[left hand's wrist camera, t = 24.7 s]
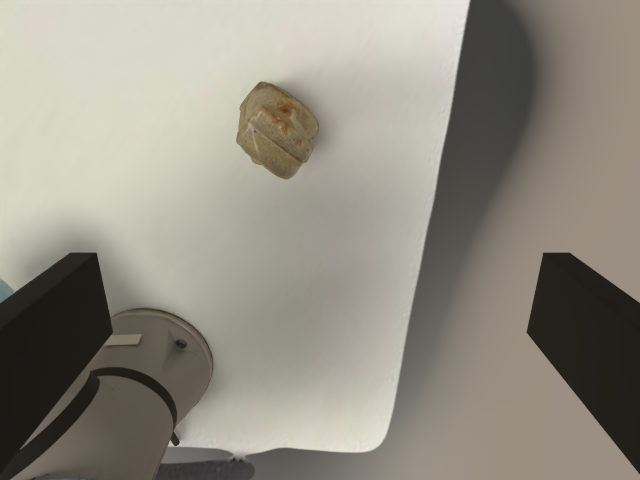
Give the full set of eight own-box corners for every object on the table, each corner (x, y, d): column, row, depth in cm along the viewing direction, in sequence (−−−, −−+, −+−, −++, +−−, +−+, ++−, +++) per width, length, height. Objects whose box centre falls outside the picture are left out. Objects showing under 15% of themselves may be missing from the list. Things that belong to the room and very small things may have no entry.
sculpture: (289, 162, 44) (274, 202, 30) (236, 112, 43) (195, 131, 29) (327, 120, 43) (331, 143, 29) (274, 67, 41) (251, 64, 27)
